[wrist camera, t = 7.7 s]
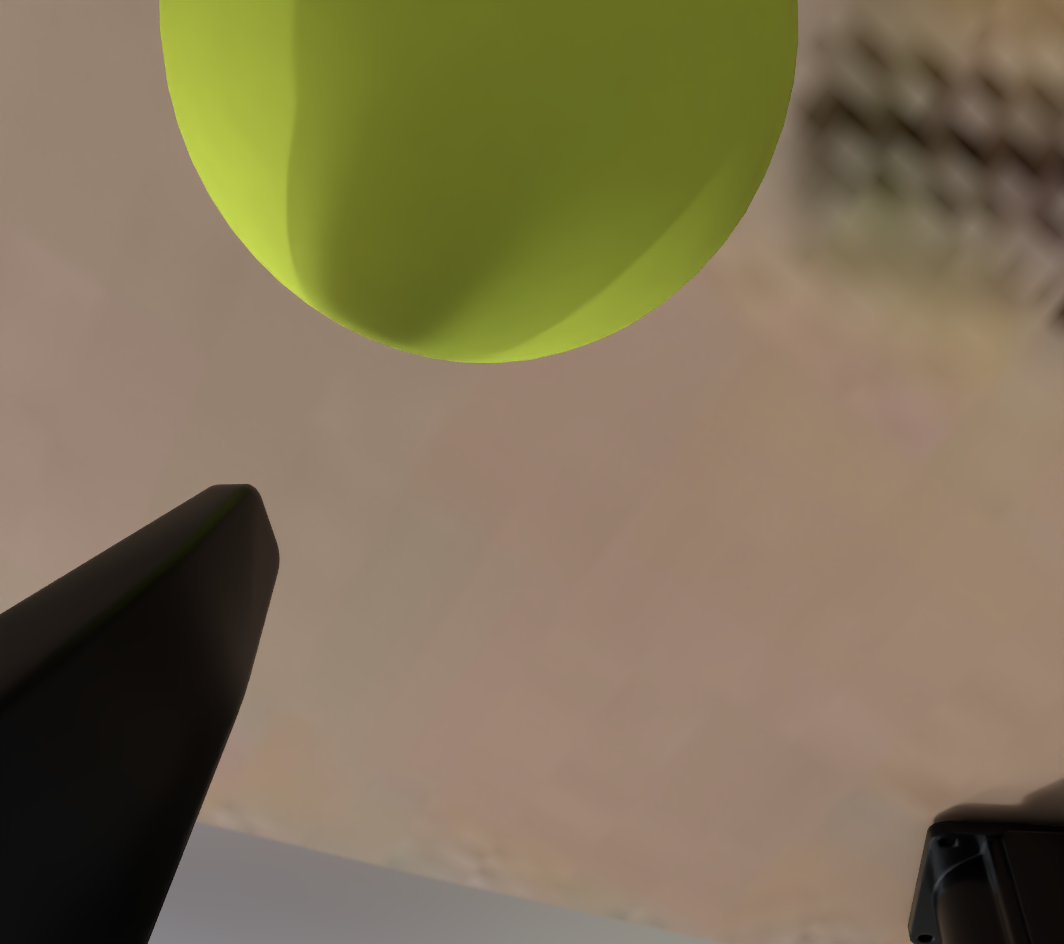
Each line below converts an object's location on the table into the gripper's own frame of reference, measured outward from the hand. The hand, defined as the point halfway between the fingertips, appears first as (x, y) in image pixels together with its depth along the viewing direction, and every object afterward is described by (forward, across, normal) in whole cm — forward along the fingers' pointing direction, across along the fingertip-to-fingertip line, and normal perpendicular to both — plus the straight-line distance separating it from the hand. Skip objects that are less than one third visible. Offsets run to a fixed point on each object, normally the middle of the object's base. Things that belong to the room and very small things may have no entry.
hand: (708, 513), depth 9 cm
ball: (+3, +2, -4) cm, 5 cm away
